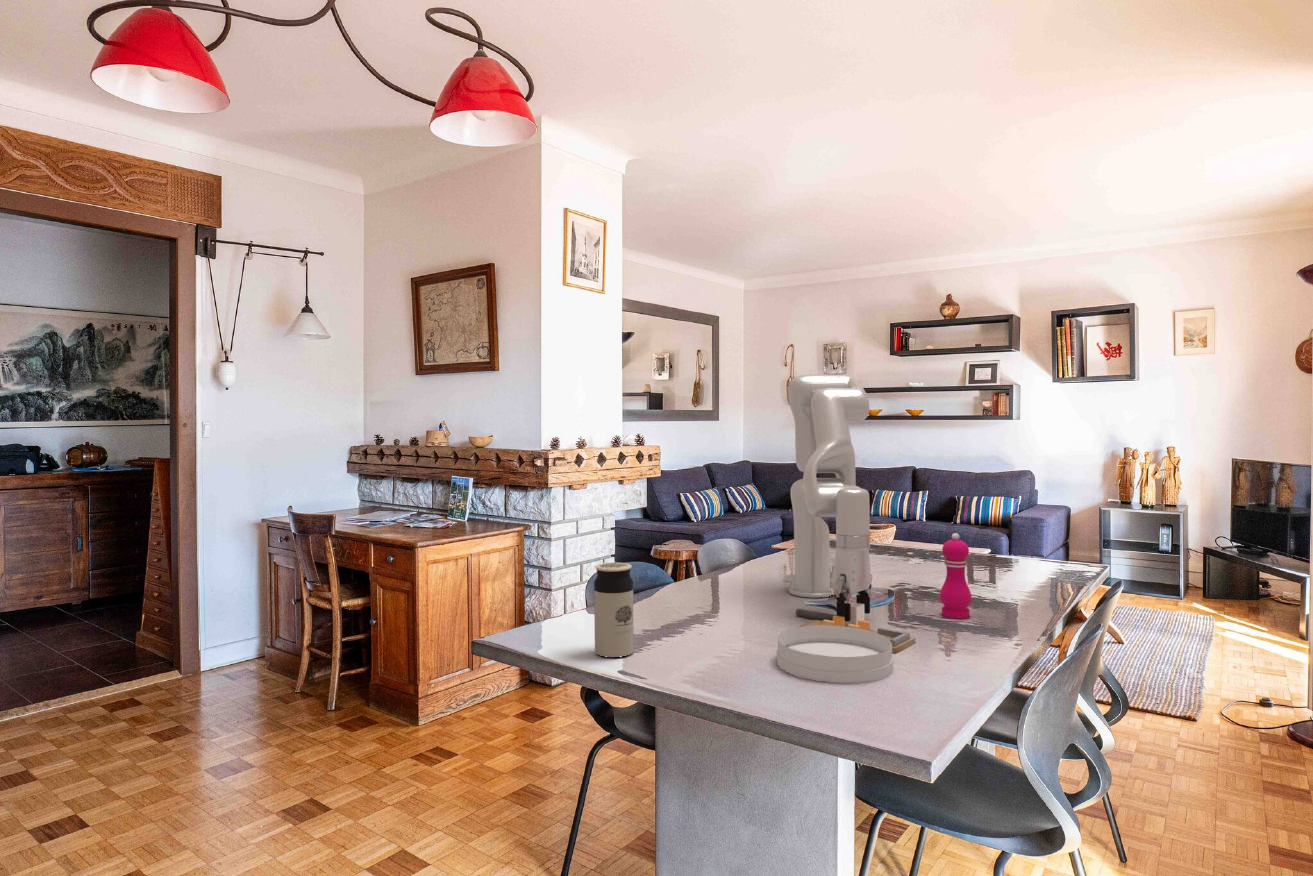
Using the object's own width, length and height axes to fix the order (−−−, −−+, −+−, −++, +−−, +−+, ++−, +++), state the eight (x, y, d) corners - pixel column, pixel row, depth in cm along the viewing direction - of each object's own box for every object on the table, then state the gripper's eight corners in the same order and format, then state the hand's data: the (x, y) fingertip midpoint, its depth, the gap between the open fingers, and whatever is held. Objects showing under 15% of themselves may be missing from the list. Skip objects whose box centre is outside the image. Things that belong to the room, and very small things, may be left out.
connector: (791, 617, 185) (791, 596, 185) (800, 614, 188) (800, 594, 188) (856, 629, 174) (856, 607, 174) (864, 625, 177) (864, 604, 177)
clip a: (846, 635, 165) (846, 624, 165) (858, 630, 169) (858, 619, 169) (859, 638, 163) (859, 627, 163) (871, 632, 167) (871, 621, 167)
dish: (817, 642, 165) (817, 619, 165) (914, 665, 149) (914, 639, 149) (753, 665, 149) (753, 640, 149) (853, 694, 133) (853, 665, 133)
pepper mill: (966, 612, 188) (966, 531, 188) (975, 619, 181) (975, 535, 181) (936, 611, 189) (936, 531, 189) (944, 619, 182) (944, 535, 181)
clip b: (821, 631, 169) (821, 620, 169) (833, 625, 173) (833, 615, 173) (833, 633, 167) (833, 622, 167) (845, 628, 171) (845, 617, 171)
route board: (792, 633, 171) (792, 628, 171) (814, 623, 179) (814, 619, 179) (895, 653, 155) (895, 648, 155) (915, 642, 163) (915, 637, 163)
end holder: (864, 640, 161) (864, 634, 161) (879, 633, 167) (879, 627, 167) (895, 646, 157) (895, 640, 157) (909, 638, 162) (909, 632, 162)
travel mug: (589, 650, 159) (588, 563, 159) (625, 645, 162) (624, 560, 162) (602, 661, 152) (601, 570, 152) (639, 655, 155) (638, 567, 155)
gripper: (855, 537, 185) (855, 607, 185) (819, 544, 172) (820, 621, 172) (884, 539, 180) (885, 612, 180) (850, 547, 167) (851, 626, 167)
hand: (853, 616), depth 176 cm, fingers open, 9 cm apart
